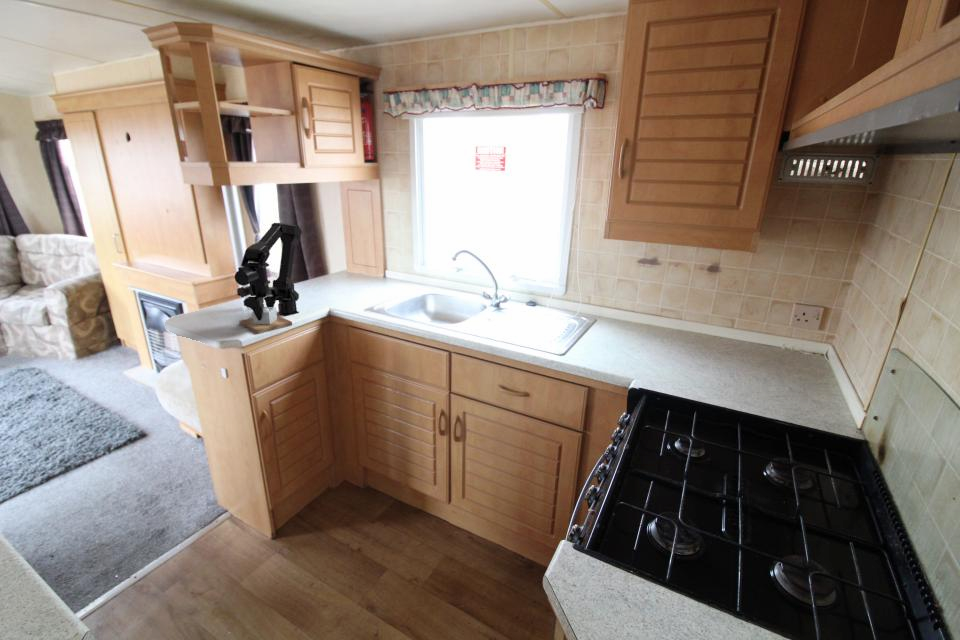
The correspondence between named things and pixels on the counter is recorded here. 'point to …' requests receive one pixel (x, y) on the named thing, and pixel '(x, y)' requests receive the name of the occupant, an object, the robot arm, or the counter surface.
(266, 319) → the duct collar
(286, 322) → the board
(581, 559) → the counter surface
